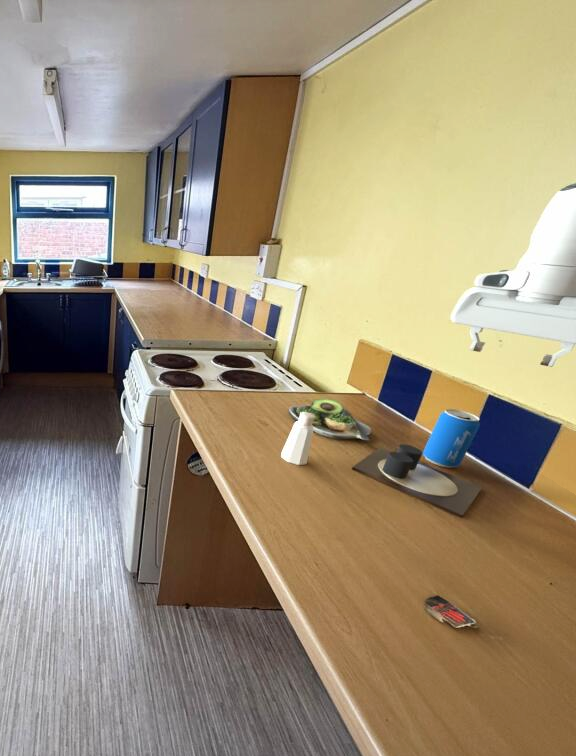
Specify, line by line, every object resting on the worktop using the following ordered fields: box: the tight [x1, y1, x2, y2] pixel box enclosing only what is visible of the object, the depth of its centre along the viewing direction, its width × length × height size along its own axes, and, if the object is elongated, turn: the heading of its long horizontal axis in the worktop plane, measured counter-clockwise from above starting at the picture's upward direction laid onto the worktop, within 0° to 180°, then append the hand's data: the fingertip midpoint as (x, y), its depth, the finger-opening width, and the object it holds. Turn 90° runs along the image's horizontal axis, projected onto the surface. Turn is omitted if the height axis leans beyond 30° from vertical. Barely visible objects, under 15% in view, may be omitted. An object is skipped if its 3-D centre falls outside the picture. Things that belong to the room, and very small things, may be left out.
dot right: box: [383, 451, 413, 479], centre depth 84 cm, size 4×4×4 cm
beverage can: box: [422, 408, 481, 469], centre depth 89 cm, size 6×6×12 cm
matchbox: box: [423, 594, 479, 629], centre depth 54 cm, size 5×5×1 cm
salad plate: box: [288, 398, 372, 442], centre depth 104 cm, size 19×18×5 cm
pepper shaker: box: [280, 412, 315, 466], centre depth 87 cm, size 5×5×11 cm
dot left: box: [395, 443, 423, 470], centre depth 87 cm, size 4×4×4 cm
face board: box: [351, 447, 483, 518], centre depth 84 cm, size 18×16×1 cm
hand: (509, 357), depth 75 cm, fingers open, 8 cm apart
